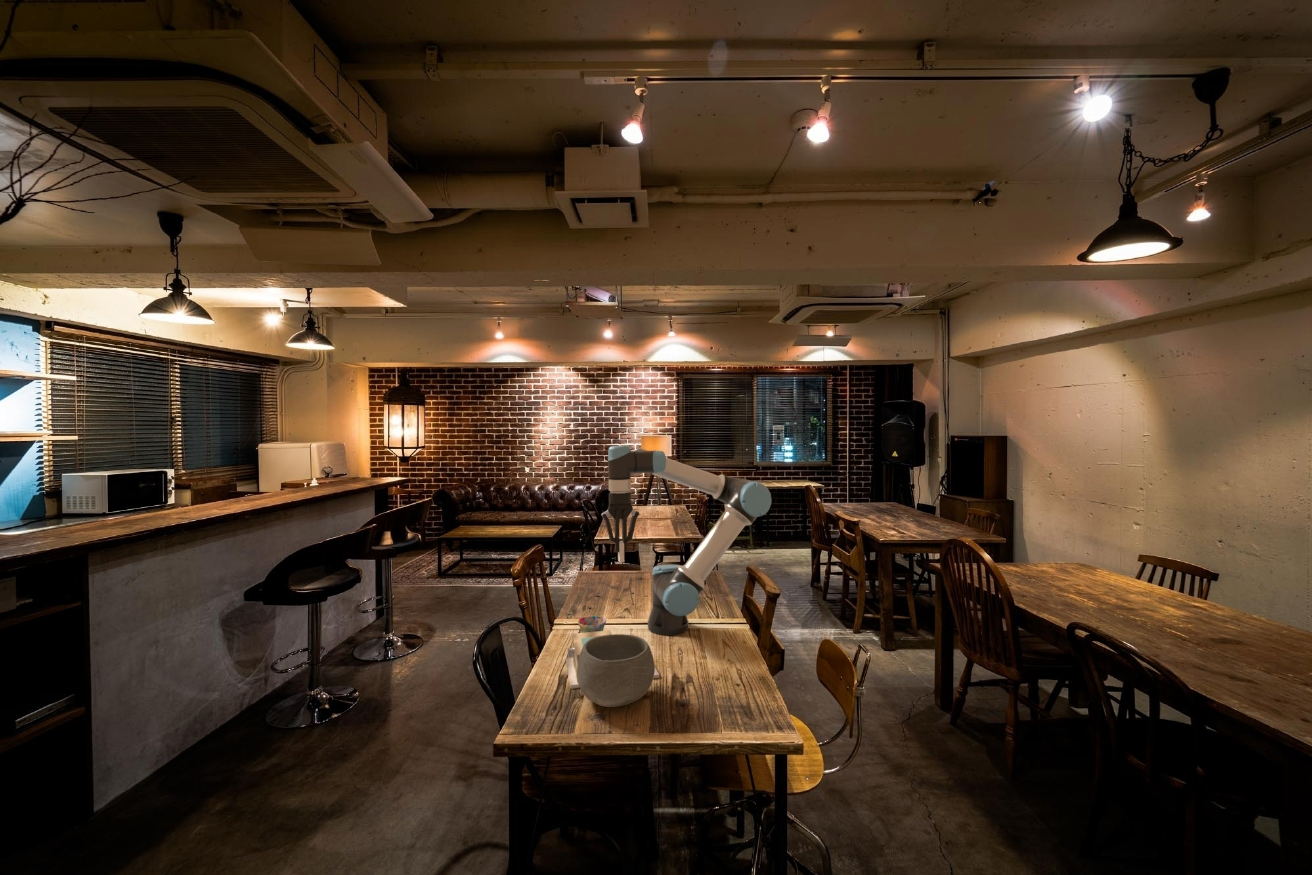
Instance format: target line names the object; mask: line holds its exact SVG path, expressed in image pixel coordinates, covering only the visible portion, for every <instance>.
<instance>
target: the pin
mask: <svg viewBox="0 0 1312 875" xmlns="http://www.w3.org/2000/svg"><path fill="white" fill-rule="evenodd" d="M572 657H574V647H568V648H567V658H572Z"/></svg>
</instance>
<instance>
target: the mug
mask: <svg viewBox="0 0 1312 875" xmlns="http://www.w3.org/2000/svg"><path fill="white" fill-rule="evenodd" d="M606 623H607V618H605V617H604V616H600V615H589V616H588V615H587V616H583V617H581V618H579V619H578V621H577V624H578V626H579V629H580V633H585V632H595V631H604V628H605V626H606Z"/></svg>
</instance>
